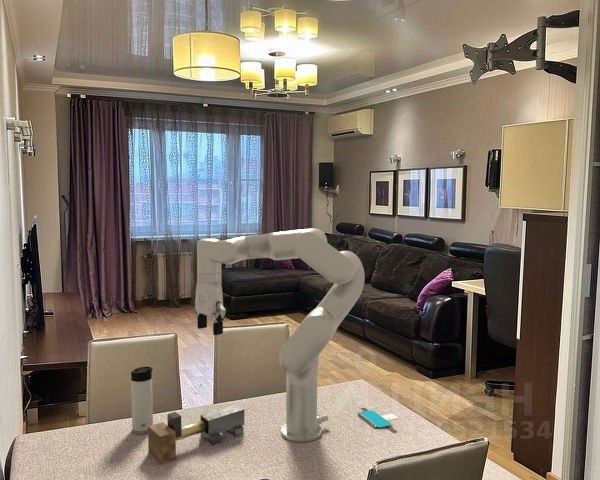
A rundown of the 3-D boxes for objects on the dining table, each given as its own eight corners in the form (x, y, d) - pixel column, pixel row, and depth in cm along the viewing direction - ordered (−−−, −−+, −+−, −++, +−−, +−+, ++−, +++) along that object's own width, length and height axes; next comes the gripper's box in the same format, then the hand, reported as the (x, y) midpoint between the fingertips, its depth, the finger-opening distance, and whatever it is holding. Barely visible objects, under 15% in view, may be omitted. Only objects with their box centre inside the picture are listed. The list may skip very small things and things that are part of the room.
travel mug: (148, 435, 163) (146, 372, 161) (128, 433, 165) (126, 370, 163) (157, 426, 169) (156, 365, 167) (138, 424, 171) (137, 363, 169)
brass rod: (210, 425, 163) (210, 401, 162) (216, 430, 160) (216, 405, 159) (154, 443, 151) (154, 417, 150) (160, 448, 148) (159, 422, 148)
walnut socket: (163, 448, 155) (162, 422, 154) (175, 459, 149) (175, 431, 148) (148, 453, 152) (147, 426, 152) (160, 464, 146) (160, 436, 146)
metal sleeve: (233, 426, 170) (233, 403, 170) (246, 433, 165) (246, 410, 164) (199, 437, 162) (198, 413, 162) (210, 446, 157) (210, 421, 156)
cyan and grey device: (413, 430, 169) (413, 425, 169) (380, 437, 164) (381, 431, 164) (379, 406, 187) (379, 402, 187) (349, 412, 183) (349, 407, 183)
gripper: (185, 275, 172) (186, 327, 174) (213, 283, 159) (213, 339, 160) (206, 273, 177) (206, 323, 178) (234, 280, 164) (235, 335, 165)
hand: (210, 331), depth 169 cm, fingers open, 9 cm apart
